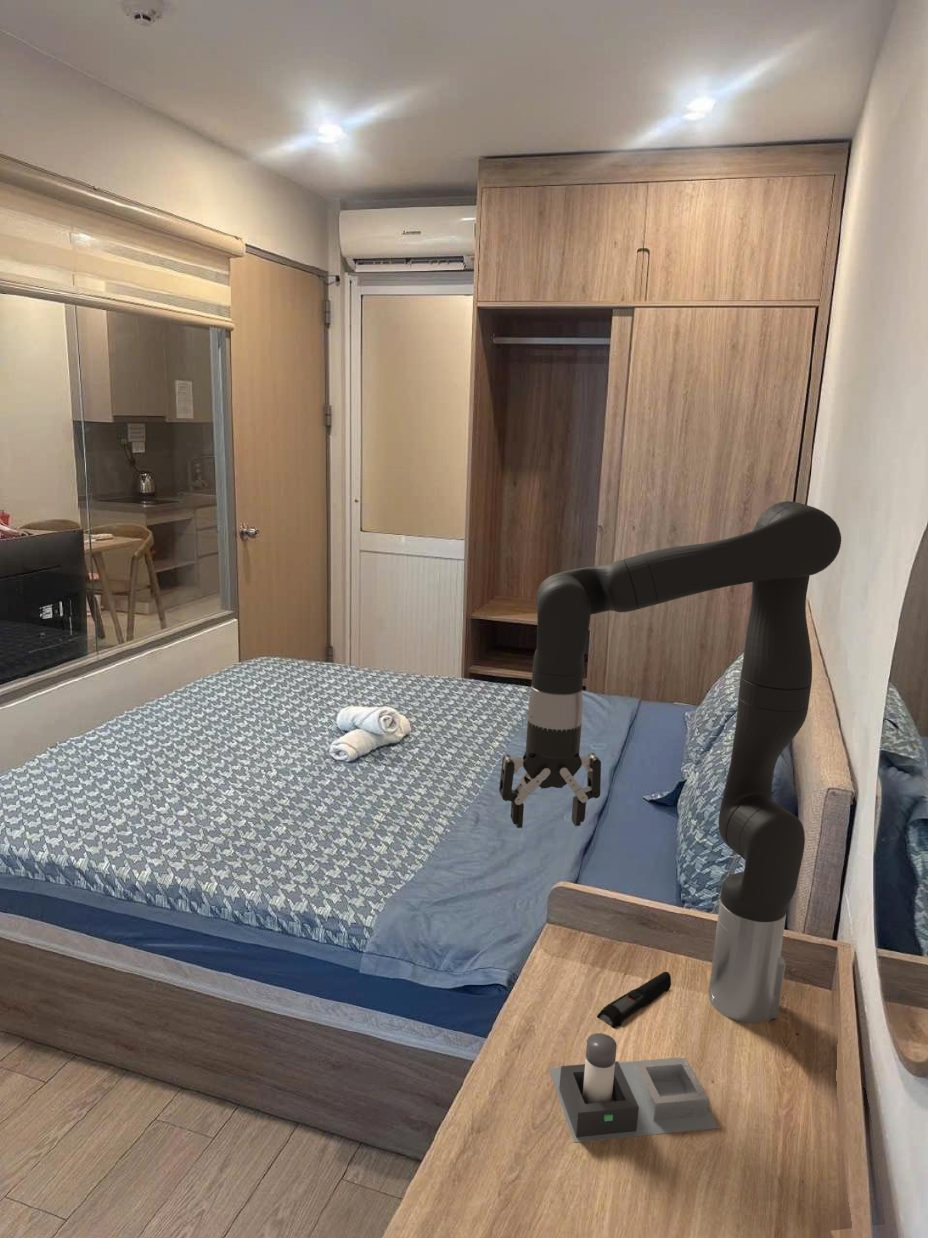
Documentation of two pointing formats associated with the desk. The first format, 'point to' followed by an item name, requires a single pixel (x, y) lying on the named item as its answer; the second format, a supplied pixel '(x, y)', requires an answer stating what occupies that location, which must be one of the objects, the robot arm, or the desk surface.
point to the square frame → (676, 1104)
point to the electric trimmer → (635, 1000)
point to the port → (598, 1104)
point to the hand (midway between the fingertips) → (547, 824)
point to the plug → (599, 1069)
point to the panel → (644, 1109)
